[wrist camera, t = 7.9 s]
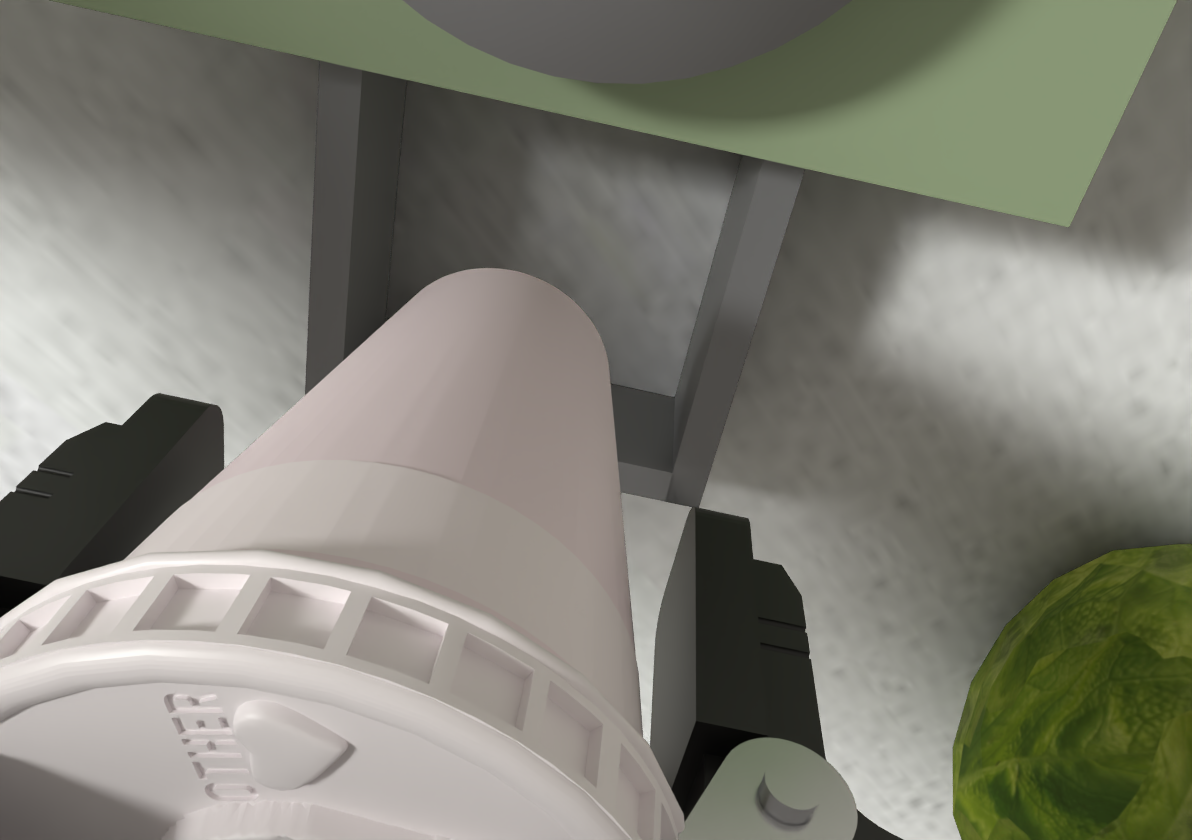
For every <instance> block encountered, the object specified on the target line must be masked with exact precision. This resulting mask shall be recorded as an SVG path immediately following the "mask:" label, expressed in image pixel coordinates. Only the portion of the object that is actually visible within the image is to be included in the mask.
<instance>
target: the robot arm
mask: <svg viewBox="0 0 1192 840" xmlns="http://www.w3.org/2000/svg"><path fill="white" fill-rule="evenodd" d="M222 470H224V423H223V415H222V411H221V409H220V407H218V406H217V405H213V404H208V403H204V402H199V401H194V400H189V399H185V398H180V397H175V396H170V395H165V394H161V393H158V394H155V395H153V396H152V397H150V398H149V399H148V400H147V401H146V402H145V403H144V404H143V405H142V406H141V407H140V408H139V409H138V410H137V411H136V412H135V413H134V414H133V415H132V416H131V417H130V418H129V419H128V420H127V421H126V422H125V423H124V424H123V425H117V424H112V423H107V422H105V423H103V424H101V425H98V426H96V427H94V428H92V429H90V430H87V431H85V432H83V433H81V434H79V435H77V436H74V437H72V438H70V439H68V440H66V441H65V442H64V443H63V444H61V445H60V446H59V447H58V448H57V449H56V450H55V451H54V452H53V453H52V454H51V455H50V456H49V457H47V458H46V459H45V460H44V461H43V462H42V463H41V464H40V465H39V468H38V471H32V472H31V473H30V474H29V475H28V476H27V477H26V478H25V479H24V480H23V481H22V482H21V483H19V484H18V485H17V486H16V491H15V492H10V493H9V494H8V495H7V496H5V497H4V498H3V499H2V500H1V501H0V617H2V616H3V615H5V614H6V613H8V612H9V611H11V610H12V609H14V608H15V607H16V606H18V605H19V604H21V603H22V602H24V601H25V600H27V599H28V598H30V597H31V596H33V595H34V594H35V593H37V592H38V591H40V590H41V589H43V588H44V587H46V586H47V585H49V584H50V583H52V582H53V581H55V580H57V579H60V578H63V577H67V576H70V575H74V574H77V573H81V572H84V571H88V570H91V569H95V568H98V567H102V566H105V565H109V564H112V563H116V562H119V561H123V560H124V559H125V558H126V557H127V556H128V555H129V554H130V553H132V552H133V551H134V550H135V549H136V548H137V547H138V546H139V545H140V544H141V543H142V542H143V541H144V540H145V539H146V538H147V537H148V536H149V535H151V534H152V533H153V532H154V531H155V530H156V529H157V528H158V527H159V526H160V525H161V524H162V523H163V522H164V521H165V520H166V519H167V518H169V517H170V516H171V515H172V514H173V513H174V512H175V511H176V510H177V509H178V508H179V507H181V506H182V505H183V504H185V503H186V502H188V501H189V500H190V499H192V498H193V497H194V496H195V495H196V494H197V493H198V492H199V491H200V490H201V489H203V488H204V487H205V486H206V485H207V484H208V483H209V482H210V481H211V480H212V479H214V478H215V477H216V476H217V475H218V474H219V473H220V472H221V471H222ZM805 629H806V623H805V616H804V609H803V603H802V596H801V594H800V593H799V591H798V590H797V588H796V586H795V585H794V583H793V582H792V580H791V579H790V577H789V576H788V574H787V573H786V571H785V570H784V568H783V567H782V565H778V564H774V563H769V562H764V561H759V560H755V559H753V553H752V541H751V529H750V522H749V519H748V518H744V517H739V516H734V515H729V514H725V513H720V512H715V511H710V510H706V509H701V508H696V507H692V508H691V510H690V512H689V514H688V517H687V520H686V523H685V527H684V530H683V533H682V536H681V540H680V543H679V546H678V549H677V553H676V556H675V559H674V563H673V566H672V569H671V572H670V576H669V579H668V582H667V586H666V589H665V592H664V596H663V599H662V603H661V608H660V613H659V618H658V623H657V630H656V638H655V655H654V675H653V696H652V716H651V737H650V748H651V750H652V752H653V754H654V756H655V758H656V760H657V762H658V764H659V766H660V768H661V770H662V772H663V774H664V776H665V778H666V780H667V782H668V784H669V786H670V788H671V790H672V792H673V794H674V796H675V798H676V800H677V802H678V804H679V806H680V808H681V810H682V812H683V814H684V823H685V828H684V830H683V831H682V832H680V833H678V840H903V839H901V838H899V837H897V836H895V835H893V834H891V833H889V832H888V831H886V830H884V829H882V828H881V827H879V826H877V825H876V824H875V823H873V822H872V821H870V820H869V819H868V818H866V817H865V816H864V815H863V814H862V813H861V812H859V811H858V810H857V808H856V803H855V800H854V797H853V794H852V792H851V791H850V789H849V787H848V785H847V783H846V782H845V780H844V779H843V778H842V776H841V775H840V774H839V773H838V771H837V770H836V769H835V768H834V767H833V766H832V765H831V764H830V763H828V762H827V761H826V757H825V752H824V745H823V738H822V732H821V725H820V718H819V711H818V704H817V698H816V691H815V684H814V677H813V670H812V664H811V659H809V654H810V650H809V643H808V636H807V633H805Z"/></svg>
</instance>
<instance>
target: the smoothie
mask: <svg viewBox="0 0 1192 840" xmlns="http://www.w3.org/2000/svg"><path fill="white" fill-rule="evenodd" d="M684 828H685V823H684V814H683V812H682V810H681V808H680V806H679V804H678V802H677V800H676V798H675V796H674V794H673V792H672V790H671V788H670V786H669V784H668V782H667V780H666V778H665V776H664V774H663V772H662V770H661V768H660V766H659V764H658V762H657V760H656V758H655V756H654V754H653V752H652V750H651V748H650V746H649V744H648V742H647V741H646V740H645V739H644V738H643V730H642V715H641V701H640V687H639V673H638V667H637V662H636V655H635V644H634V633H633V622H632V611H631V601H630V590H629V579H628V568H627V557H626V546H625V535H624V524H623V514H622V503H621V492H620V481H619V470H618V459H617V448H616V437H615V426H614V416H613V405H612V394H611V383H610V372H609V364H608V358H607V354H606V350H605V347H604V344H603V342H602V339H601V337H600V335H599V333H598V331H597V329H596V327H595V326H594V324H593V323H592V321H591V320H590V318H589V317H588V316H587V315H586V313H585V312H584V311H583V310H582V309H581V308H580V307H579V306H578V305H577V304H576V303H575V302H574V301H573V300H572V299H571V298H570V297H568V296H567V295H566V294H565V293H563V292H562V291H560V290H559V289H558V288H556V287H554V286H552V285H551V284H549V283H547V282H545V281H543V280H541V279H539V278H537V277H534V276H531V275H528V274H525V273H522V272H518V271H514V270H508V269H500V268H477V269H468V270H464V271H459V272H456V273H453V274H450V275H447V276H444V277H442V278H440V279H438V280H436V281H434V282H433V283H431V284H429V285H428V286H426V287H425V288H423V289H422V290H421V291H420V292H418V293H417V294H416V295H415V296H414V297H413V298H412V299H411V300H410V301H409V302H407V303H406V304H405V305H404V306H403V307H402V308H401V309H400V310H399V311H398V312H396V313H395V314H394V315H393V316H392V317H391V318H390V319H389V320H388V321H387V322H385V323H384V324H383V325H382V326H381V327H380V328H379V329H378V330H377V331H376V332H374V333H373V334H372V335H371V336H370V337H369V338H368V339H367V340H366V341H365V342H363V343H362V344H361V345H360V346H359V347H358V348H357V349H356V350H355V351H353V352H352V353H351V354H350V355H349V356H348V357H347V358H346V359H345V360H344V361H342V362H341V363H340V364H339V365H338V366H337V367H336V368H335V369H334V370H333V371H331V372H330V373H329V374H328V375H327V376H326V377H325V378H324V379H323V380H322V381H320V382H319V383H318V384H317V385H316V386H315V387H314V388H313V389H312V390H311V391H309V392H308V393H307V394H306V395H305V396H304V397H303V398H302V399H301V400H300V401H298V402H297V403H296V404H295V405H294V406H293V407H292V408H291V409H290V410H289V411H287V412H286V413H285V414H284V415H283V416H282V417H281V418H280V419H279V420H277V421H276V422H275V423H274V424H273V425H272V426H271V427H270V428H269V429H268V430H266V431H265V432H264V433H263V434H262V435H261V436H260V437H259V438H258V439H257V440H255V441H254V442H253V443H252V444H251V445H250V446H249V447H248V448H247V449H246V450H244V451H243V452H242V453H241V454H240V455H239V456H238V457H237V458H236V459H235V460H233V461H232V462H231V463H230V464H229V465H228V466H227V467H226V468H225V469H224V470H222V471H221V472H220V473H219V474H218V475H217V476H216V477H215V478H214V479H212V480H211V481H210V482H209V483H208V484H207V485H206V486H205V487H204V488H203V489H201V490H200V491H199V492H198V493H197V494H196V495H195V496H194V497H193V498H192V499H190V500H189V501H188V502H186V503H185V504H183V505H182V506H181V507H179V508H178V509H177V510H176V511H175V512H174V513H173V514H172V515H171V516H170V517H169V518H167V519H166V520H165V521H164V522H163V523H162V524H161V525H160V526H159V527H158V528H157V529H156V530H155V531H154V532H153V533H152V534H151V535H149V536H148V537H147V538H146V539H145V540H144V541H143V542H142V543H141V544H140V545H139V546H138V547H137V548H136V549H135V550H134V551H133V552H132V553H130V554H129V555H128V556H127V557H126V558H125V559H124V560H123V561H119V562H116V563H112V564H109V565H105V566H102V567H98V568H95V569H91V570H88V571H84V572H81V573H77V574H74V575H70V576H67V577H63V578H60V579H57V580H55V581H53V582H52V583H50V584H49V585H47V586H46V587H44V588H43V589H41V590H40V591H38V592H37V593H35V594H34V595H33V596H31V597H30V598H28V599H27V600H25V601H24V602H22V603H21V604H19V605H18V606H16V607H15V608H14V609H12V610H11V611H9V612H8V613H6V614H5V615H3V616H2V617H0V840H678V833H680V832H682V831H683V830H684Z"/></svg>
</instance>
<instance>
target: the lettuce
mask: <svg viewBox="0 0 1192 840" xmlns="http://www.w3.org/2000/svg"><path fill="white" fill-rule="evenodd" d="M953 816H954V819H955V822H956V825H957V828H958V830H959V833H960V836H961V839H962V840H1192V544H1174V545H1164V546H1154V547H1144V548H1134V549H1124V550H1114V551H1111V552H1109V553H1107V554H1105V555H1103V556H1101V557H1099V558H1097V559H1095V560H1092V561H1090V562H1088V563H1086V564H1084V565H1082V566H1080V567H1078V568H1076V569H1074V570H1072V571H1070V572H1068V573H1066V574H1064V575H1062V576H1060V577H1058V578H1056V579H1054V580H1053V581H1052V582H1051V583H1050V584H1049V585H1047V586H1046V587H1045V588H1044V589H1043V590H1042V591H1041V592H1040V593H1039V594H1038V595H1037V596H1036V597H1035V598H1034V599H1033V600H1032V601H1031V602H1030V603H1029V604H1027V605H1026V606H1025V607H1024V608H1023V609H1022V610H1021V611H1020V612H1019V613H1018V614H1017V615H1016V616H1015V617H1014V618H1013V619H1012V620H1011V621H1010V622H1009V623H1007V624H1006V625H1005V627H1004V629H1003V630H1002V632H1001V634H1000V635H999V637H998V639H997V640H996V642H995V644H994V645H993V647H992V649H991V650H990V652H989V654H988V655H987V657H986V659H985V660H984V662H983V664H982V665H981V667H980V669H979V670H978V672H977V674H976V675H975V677H974V679H973V680H972V682H971V685H970V688H969V692H968V695H967V699H966V702H965V706H964V710H963V713H962V717H961V720H960V724H959V727H958V731H957V734H956V738H955V741H954V745H953Z"/></svg>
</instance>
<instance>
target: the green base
mask: <svg viewBox="0 0 1192 840" xmlns="http://www.w3.org/2000/svg"><path fill="white" fill-rule="evenodd" d="M50 1H55V2H59V3H64V4H68V5H73V6H77V7H82V8H86V9H91V10H95V11H100V12H104V13H109V14H113V15H118V16H122V17H127V18H131V19H136V20H140V21H145V22H149V23H154V24H158V25H163V26H167V27H172V28H176V29H181V30H185V31H190V32H194V33H199V34H203V35H208V36H212V37H217V38H221V39H226V40H230V41H234V42H239V43H243V44H248V45H252V46H257V47H261V48H266V49H270V50H275V51H279V52H284V53H288V54H293V55H297V56H302V57H306V58H311V59H315V60H320V61H319V85H318V108H317V131H316V154H315V177H314V201H313V224H312V247H311V270H310V293H309V317H308V340H307V363H306V386H305V395H306V394H307V393H308V392H309V391H311V390H312V389H313V388H314V387H315V386H316V385H317V384H318V383H319V382H320V381H322V380H323V379H324V378H325V377H326V376H327V375H328V374H329V373H330V372H331V371H333V370H334V369H335V368H336V367H337V366H338V365H339V364H340V363H341V362H342V361H344V360H345V359H346V358H347V357H348V356H349V355H350V354H351V353H352V352H353V351H355V350H356V349H357V348H358V347H359V346H360V345H361V344H362V343H363V342H365V341H366V340H367V339H368V338H369V337H370V336H371V335H372V334H373V333H374V332H376V331H377V330H378V329H379V328H380V327H381V326H382V325H383V324H384V323H385V317H386V306H387V295H388V284H389V272H390V261H391V250H392V239H393V228H394V217H395V205H396V194H397V183H398V172H399V161H400V150H401V138H402V127H403V116H404V105H405V94H406V83H407V80H410V81H414V82H419V83H423V84H427V85H432V86H436V87H441V88H445V89H450V90H454V91H459V92H463V93H468V94H472V95H477V96H481V97H486V98H490V99H495V100H499V101H504V102H508V103H513V104H517V105H522V106H526V107H531V108H535V109H540V110H544V111H549V112H553V113H558V114H562V115H567V116H571V117H576V118H580V119H585V120H589V121H594V122H598V123H603V124H607V125H612V126H616V127H621V128H625V129H629V130H634V131H638V132H643V133H647V134H652V135H656V136H661V137H665V138H670V139H674V140H679V141H683V142H688V143H692V144H697V145H701V146H706V147H710V148H715V149H719V150H724V151H728V152H733V153H737V154H742V158H741V161H740V165H739V168H738V172H737V176H736V179H735V183H734V186H733V190H732V194H731V197H730V201H729V204H728V208H727V212H726V215H725V219H724V222H723V226H722V230H721V233H720V237H719V240H718V244H717V248H716V251H715V255H714V258H713V262H712V266H711V269H710V273H709V276H708V280H707V284H706V287H705V291H704V294H703V298H702V302H701V305H700V309H699V313H698V316H697V320H696V323H695V327H694V331H693V334H692V338H691V341H690V345H689V349H688V352H687V356H686V359H685V363H684V367H683V370H682V374H681V377H680V381H679V385H678V388H677V392H676V395H675V398H674V397H669V396H664V395H660V394H655V393H651V392H646V391H641V390H637V389H632V388H627V387H623V386H618V385H613V384H611V394H612V405H613V416H614V426H615V437H616V448H617V459H618V470H619V481H620V492H623V493H628V494H632V495H637V496H642V497H647V498H651V499H656V500H661V501H665V502H670V503H675V504H679V505H684V506H689V507H696V508H699V505H700V502H701V499H702V496H703V492H704V489H705V486H706V483H707V480H708V476H709V473H710V470H711V467H712V464H713V461H714V457H715V454H716V451H717V448H718V445H719V441H720V438H721V435H722V432H723V429H724V426H725V422H726V419H727V416H728V413H729V410H730V407H731V403H732V400H733V397H734V394H735V391H736V387H737V384H738V381H739V378H740V375H741V372H742V368H743V365H744V362H745V359H746V356H747V352H748V349H749V346H750V343H751V340H752V337H753V333H754V330H755V327H756V324H757V321H758V317H759V314H760V311H761V308H762V305H763V302H764V298H765V295H766V292H767V289H768V286H769V282H770V279H771V276H772V273H773V270H774V267H775V263H776V260H777V257H778V254H779V251H780V247H781V244H782V241H783V238H784V235H785V232H786V228H787V225H788V222H789V219H790V216H791V212H792V209H793V206H794V203H795V200H796V197H797V193H798V190H799V187H800V184H801V181H802V178H803V174H804V171H805V169H809V170H814V171H818V172H822V173H827V174H831V175H836V176H840V177H845V178H849V179H854V180H858V181H863V182H867V183H872V184H876V185H881V186H885V187H890V188H894V189H899V190H903V191H908V192H912V193H917V194H921V195H926V196H930V197H935V198H939V199H944V200H948V201H953V202H957V203H962V204H966V205H971V206H975V207H980V208H984V209H989V210H993V211H998V212H1002V213H1007V214H1011V215H1015V216H1020V217H1024V218H1029V219H1033V220H1038V221H1042V222H1047V223H1051V224H1056V225H1060V226H1065V227H1069V226H1070V224H1071V222H1072V220H1073V218H1074V216H1075V214H1076V212H1077V210H1078V208H1079V205H1080V203H1081V201H1082V199H1083V197H1084V195H1085V193H1086V191H1087V189H1088V187H1089V184H1090V182H1091V180H1092V178H1093V176H1094V174H1095V172H1096V170H1097V168H1098V166H1099V163H1100V161H1101V159H1102V157H1103V155H1104V153H1105V151H1106V149H1107V147H1108V145H1109V142H1110V140H1111V138H1112V136H1113V134H1114V132H1115V130H1116V128H1117V126H1118V124H1119V121H1120V119H1121V117H1122V115H1123V113H1124V111H1125V109H1126V107H1127V105H1128V102H1129V100H1130V98H1131V96H1132V94H1133V92H1134V90H1135V88H1136V86H1137V84H1138V81H1139V79H1140V77H1141V75H1142V73H1143V71H1144V69H1145V67H1146V65H1147V63H1148V60H1149V58H1150V56H1151V54H1152V52H1153V50H1154V48H1155V46H1156V44H1157V42H1158V39H1159V37H1160V35H1161V33H1162V31H1163V29H1164V27H1165V25H1166V23H1167V21H1168V18H1169V16H1170V14H1171V12H1172V10H1173V8H1174V6H1175V4H1176V2H1177V0H50Z"/></svg>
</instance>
